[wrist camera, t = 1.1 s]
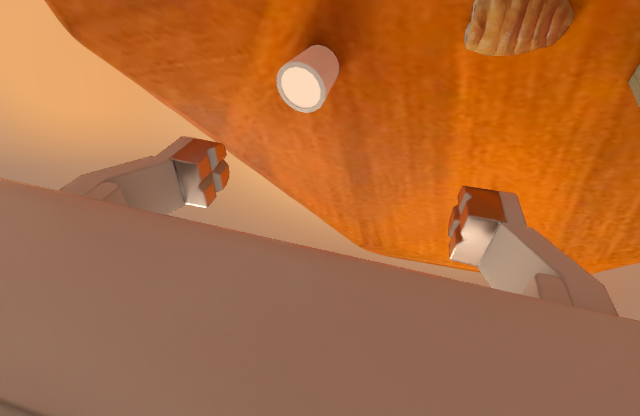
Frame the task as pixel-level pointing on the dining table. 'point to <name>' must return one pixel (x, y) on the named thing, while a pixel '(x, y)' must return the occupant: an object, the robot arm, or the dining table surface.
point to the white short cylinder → (308, 78)
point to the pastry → (516, 25)
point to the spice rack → (636, 84)
